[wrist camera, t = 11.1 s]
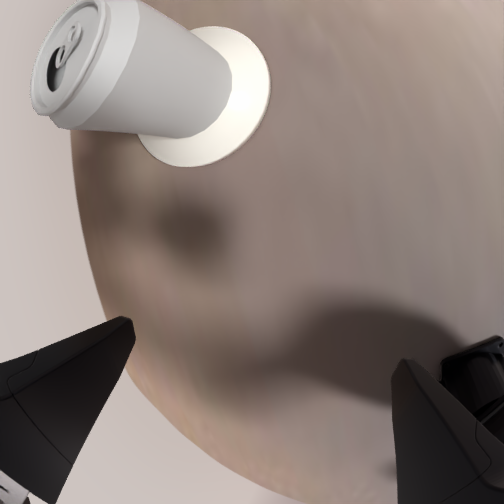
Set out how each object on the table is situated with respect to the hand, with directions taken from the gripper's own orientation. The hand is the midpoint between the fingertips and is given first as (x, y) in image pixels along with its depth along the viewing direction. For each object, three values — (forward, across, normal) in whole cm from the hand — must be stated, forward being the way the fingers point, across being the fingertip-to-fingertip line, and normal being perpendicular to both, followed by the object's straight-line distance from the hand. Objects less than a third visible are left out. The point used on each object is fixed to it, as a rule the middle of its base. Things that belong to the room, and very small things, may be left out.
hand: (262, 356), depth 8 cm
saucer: (+15, +8, -10) cm, 19 cm away
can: (+14, +8, -10) cm, 19 cm away
